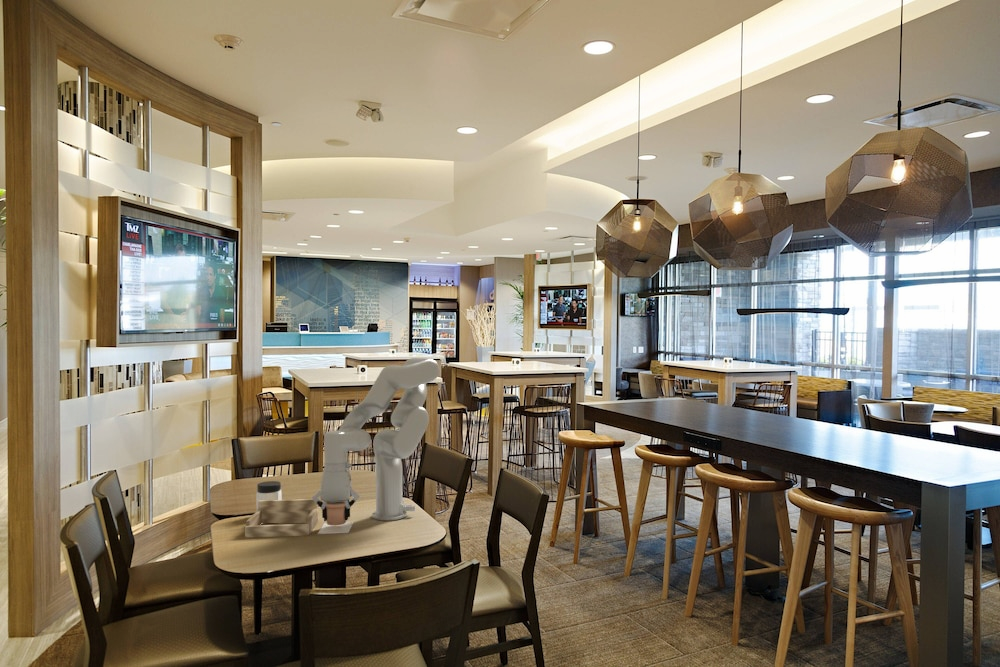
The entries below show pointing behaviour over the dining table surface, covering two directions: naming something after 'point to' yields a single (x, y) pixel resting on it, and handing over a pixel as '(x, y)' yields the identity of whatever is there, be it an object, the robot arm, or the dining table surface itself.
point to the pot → (335, 512)
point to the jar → (268, 491)
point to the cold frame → (283, 518)
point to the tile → (335, 528)
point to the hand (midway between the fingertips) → (336, 519)
